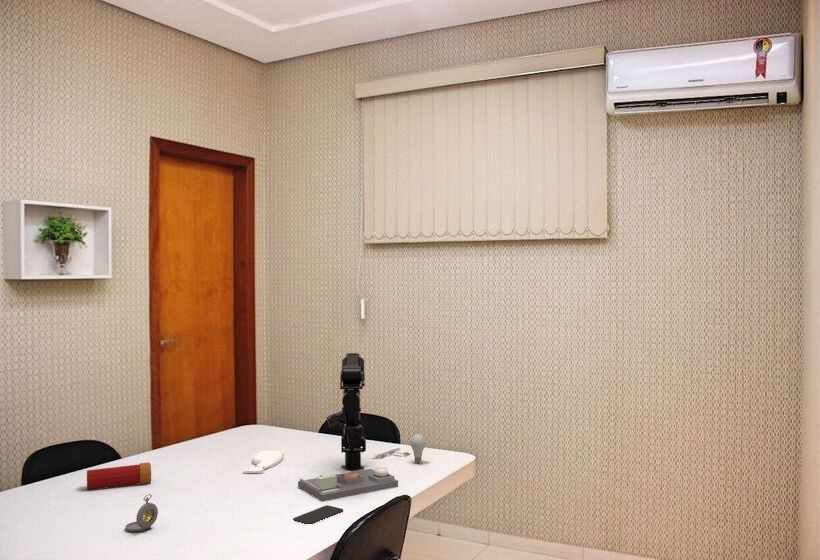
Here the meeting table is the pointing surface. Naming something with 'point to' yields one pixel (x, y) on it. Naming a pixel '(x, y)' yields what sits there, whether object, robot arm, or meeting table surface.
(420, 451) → the lightbulb
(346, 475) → the terracotta button
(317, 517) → the phone
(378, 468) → the offwhite button
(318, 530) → the meeting table surface
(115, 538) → the meeting table surface
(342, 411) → the robot arm
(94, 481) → the red tube
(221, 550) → the meeting table surface
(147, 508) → the pocket watch
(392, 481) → the control board
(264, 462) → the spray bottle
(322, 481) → the pale green block
